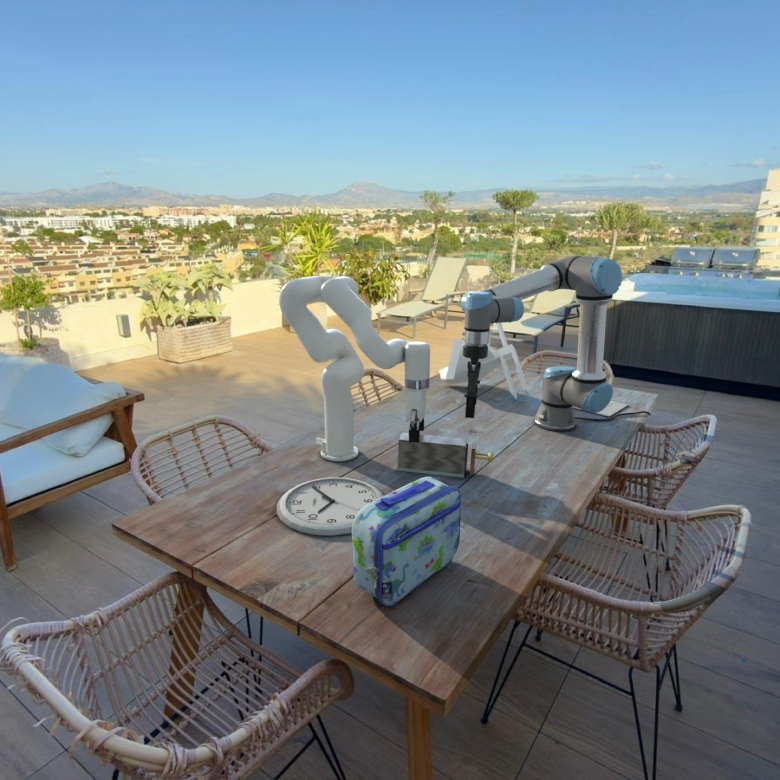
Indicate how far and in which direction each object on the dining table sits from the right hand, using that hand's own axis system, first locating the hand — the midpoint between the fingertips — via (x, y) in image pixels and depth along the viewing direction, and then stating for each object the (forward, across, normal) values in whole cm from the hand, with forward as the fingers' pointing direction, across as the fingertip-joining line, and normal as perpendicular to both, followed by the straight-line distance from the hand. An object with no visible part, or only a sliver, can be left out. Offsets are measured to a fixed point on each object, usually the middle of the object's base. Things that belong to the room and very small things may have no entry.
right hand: (470, 410), depth 164 cm
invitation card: (+18, -71, +53) cm, 91 cm away
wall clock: (+19, +35, -34) cm, 53 cm away
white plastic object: (+18, -79, +1) cm, 81 cm away
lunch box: (+19, +61, -9) cm, 65 cm away
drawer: (+18, +7, -5) cm, 20 cm away
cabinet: (+18, +7, -11) cm, 23 cm away
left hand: (+7, +7, -16) cm, 19 cm away
